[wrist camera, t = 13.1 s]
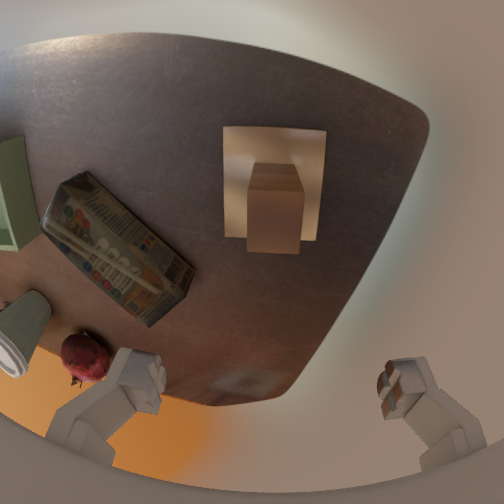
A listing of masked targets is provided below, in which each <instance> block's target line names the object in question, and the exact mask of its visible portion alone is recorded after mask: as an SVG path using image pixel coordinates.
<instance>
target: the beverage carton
mask: <svg viewBox="0 0 504 504" xmlns="http://www.w3.org/2000/svg"><path fill="white" fill-rule="evenodd" d="M39 228H40V230H41V231H42V232H43V233H44V234H45V235H46V236H47V237H48V238H49V239H50V240H51V241H52V242H53V243H54V244H55V245H56V246H57V248H58V249H59V250H60V251H61V252H62V253H63V254H64V255H65V256H66V257H67V258H68V259H69V260H70V261H71V262H72V263H73V264H74V265H75V266H76V267H77V268H78V269H79V270H80V271H81V272H83V273H84V274H85V275H86V276H87V277H88V278H89V279H90V280H91V281H92V282H93V283H94V284H96V285H97V286H98V287H99V288H100V289H101V290H102V291H104V292H105V293H106V294H107V295H108V296H109V297H110V298H112V299H113V300H114V301H115V302H117V303H118V304H119V305H120V306H121V307H123V308H124V309H125V310H126V311H127V312H129V313H130V314H131V315H133V316H134V317H135V318H136V319H138V320H139V321H140V322H142V323H143V324H145V325H146V326H147V327H148V328H150V327H151V326H152V325H153V324H155V323H156V322H157V321H158V320H160V319H161V318H162V317H163V316H164V315H166V314H167V313H168V312H169V311H170V310H171V309H172V308H173V307H175V306H176V305H177V304H178V303H179V302H181V301H182V300H183V299H184V298H185V297H186V295H187V292H188V290H189V287H190V284H191V282H192V279H193V276H194V273H195V270H194V269H193V268H192V267H190V266H189V265H188V264H187V263H186V262H185V261H184V260H183V259H182V258H180V257H179V256H178V255H177V254H176V253H175V252H174V251H173V250H171V249H170V248H169V247H168V246H167V245H166V244H165V243H164V242H162V241H161V240H160V239H159V238H158V237H157V236H155V235H154V234H153V233H152V232H151V231H150V230H149V229H148V228H147V227H146V226H144V225H143V224H142V223H141V222H140V221H139V220H138V219H137V218H136V217H134V216H133V215H132V214H131V213H130V212H129V211H128V210H127V209H126V208H125V207H124V206H123V205H122V204H120V203H119V202H118V201H117V200H116V199H115V198H114V197H113V196H112V195H111V194H110V193H109V192H108V191H107V190H106V189H105V188H103V187H102V186H101V185H100V184H99V183H98V182H97V181H96V180H95V179H94V178H93V177H92V176H91V175H90V174H89V173H88V172H86V171H85V172H83V173H79V174H77V175H75V176H73V177H72V178H70V179H68V180H66V181H64V182H62V183H60V184H59V186H58V187H57V189H56V191H55V193H54V195H53V197H52V200H51V202H50V204H49V206H48V208H47V210H46V212H45V215H44V216H43V218H42V221H41V223H40V226H39Z"/></svg>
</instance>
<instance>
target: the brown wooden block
mask: <svg viewBox="0 0 504 504" xmlns="http://www.w3.org/2000/svg"><path fill="white" fill-rule="evenodd" d="M304 199H305V191H304V188H303V186H302V183H301V180H300V178H299V175H298V173H297V170H296V168H295V165H294V164H276V163H254V165H253V169H252V173H251V177H250V181H249V185H248V189H247V252H260V253H284V254H299V250H300V240H301V231H302V221H303V210H304Z"/></svg>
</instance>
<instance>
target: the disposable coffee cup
mask: <svg viewBox="0 0 504 504" xmlns="http://www.w3.org/2000/svg"><path fill="white" fill-rule="evenodd" d="M51 312H52V311H51V307H50V304H49V303H48V301H47V300H46V298H45V297H44V296H43V295H42V294H40V293H39V292H37V291H35V290H31V291H28V292H26V293H24V294H23V295H22V296H20V297H19V298H18V299H17V300H15V301H14V302H13V303H12V304H10V305H9V306H8V307H7V308H5V309H4V310H3V311H2V312H1V313H0V367H1V368H2V369H3V370H4V371H5V372H6V373H7V374H9V375H10V376H11V377H14V378H19V377H20V375H24V374H25V373H26V372H27V371H28V368H29V366H28V364H29V362H30V359H31V357H32V354H33V352H34V350H35V347H36V346H37V343H38V341H39V339H40V337H41V335H42V333H43V331H44V329H45V327H46V325H47V323H48V321H49V319H50V316H51Z"/></svg>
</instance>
